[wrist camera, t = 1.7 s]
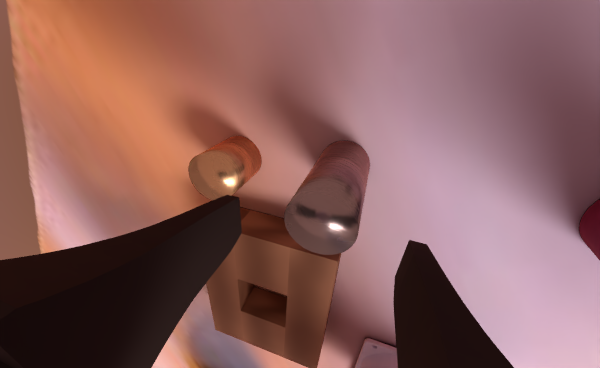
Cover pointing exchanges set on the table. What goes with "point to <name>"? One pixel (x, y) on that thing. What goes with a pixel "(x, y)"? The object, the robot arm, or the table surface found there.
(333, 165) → the long steel peg
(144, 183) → the table surface
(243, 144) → the short brass peg
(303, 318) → the walnut board
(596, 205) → the cup
